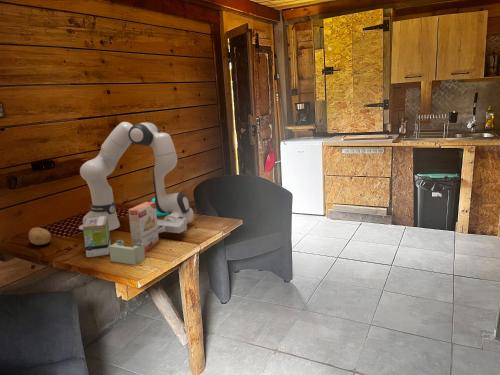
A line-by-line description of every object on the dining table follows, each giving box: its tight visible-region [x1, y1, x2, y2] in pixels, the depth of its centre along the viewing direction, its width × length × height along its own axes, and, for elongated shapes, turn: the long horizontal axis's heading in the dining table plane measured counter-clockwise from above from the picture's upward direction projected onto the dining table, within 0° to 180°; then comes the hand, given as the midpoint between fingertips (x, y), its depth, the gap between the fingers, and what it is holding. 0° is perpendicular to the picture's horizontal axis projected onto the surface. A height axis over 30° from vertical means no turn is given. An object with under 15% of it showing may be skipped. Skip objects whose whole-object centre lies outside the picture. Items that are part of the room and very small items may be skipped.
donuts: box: [150, 197, 170, 217], centre depth 236 cm, size 10×10×10 cm
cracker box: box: [128, 201, 160, 253], centre depth 182 cm, size 14×6×21 cm, turn 161°
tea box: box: [82, 216, 112, 258], centre depth 182 cm, size 15×10×15 cm, turn 17°
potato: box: [28, 227, 52, 246], centre depth 194 cm, size 10×14×8 cm
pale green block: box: [109, 239, 146, 266], centre depth 171 cm, size 13×7×8 cm, turn 67°
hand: (156, 231), depth 189 cm, fingers closed
